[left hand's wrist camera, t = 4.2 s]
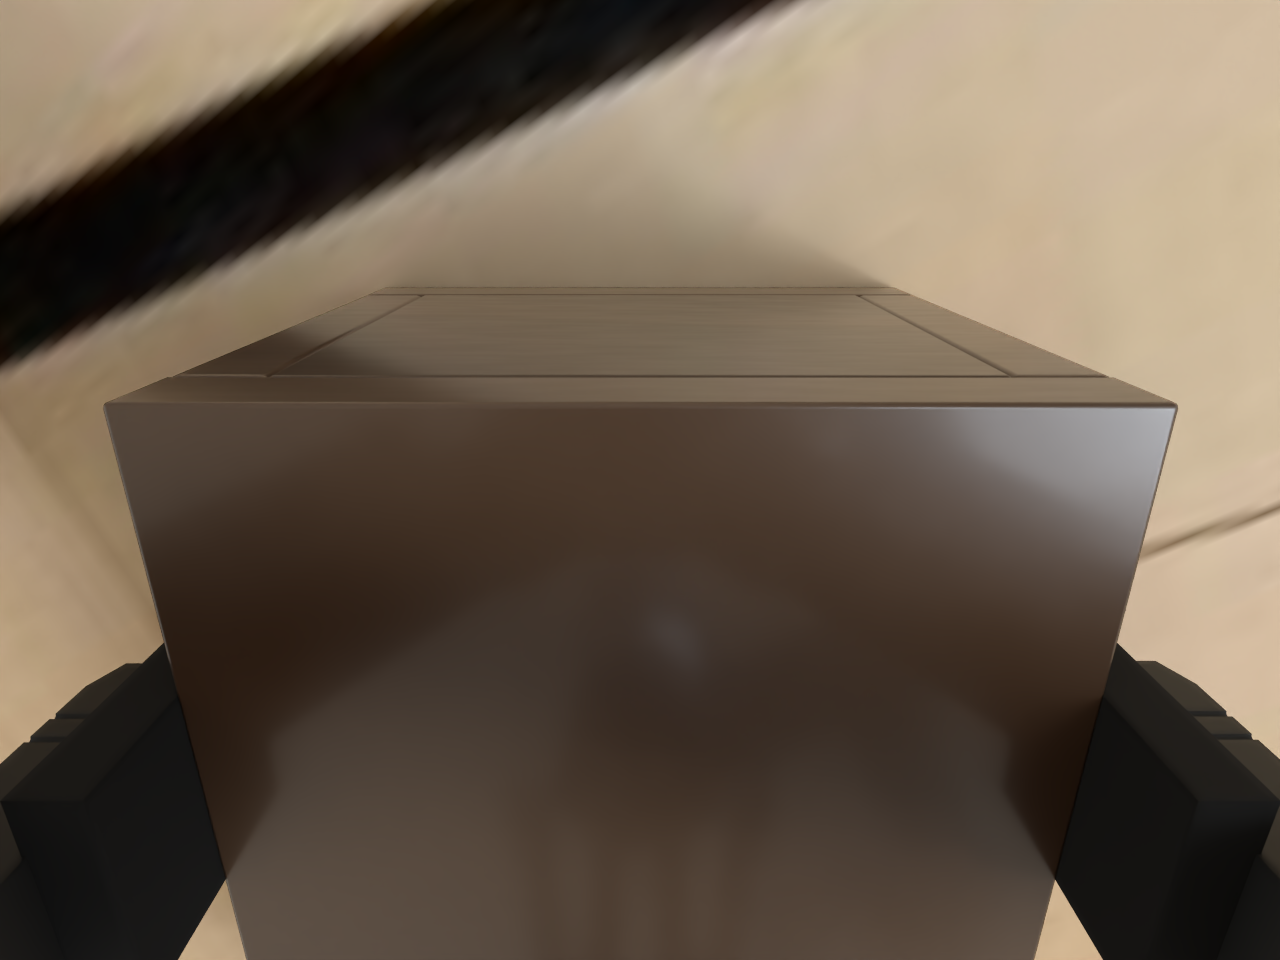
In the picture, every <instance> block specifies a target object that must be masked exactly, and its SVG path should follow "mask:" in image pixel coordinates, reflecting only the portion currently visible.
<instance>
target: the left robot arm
mask: <svg viewBox="0 0 1280 960" xmlns="http://www.w3.org/2000/svg"><path fill="white" fill-rule="evenodd" d="M1251 735H1252V734H1251V733H1250V732H1249V731H1248V730H1247V729H1246V728H1244V727H1243V726H1242V725H1241V724H1240V723H1239V722H1238V721H1237V720H1236V719H1234V718H1233V717H1227V715H1226V710H1224V709H1223V708H1222V707H1221V706H1220V705H1219V704H1218V703H1217V702H1216V701H1214V700H1213V699H1212V698H1211V697H1210V696H1209V695H1208V694H1207V693H1206V692H1204V691H1203V690H1202V689H1201V688H1200V687H1199V686H1198V685H1197V684H1195V683H1193V682H1192V681H1190V680H1188V679H1186V678H1185V677H1183V676H1181V675H1179V674H1177V673H1176V672H1174V671H1172V670H1170V669H1169V668H1167V667H1165V666H1163V665H1162V664H1160V663H1158V662H1156V661H1135V660H1134V659H1133V658H1132V657H1131V656H1130V655H1129V654H1128V653H1127V652H1126V651H1125V650H1124V649H1123V648H1122V647H1121V646H1120V645H1119V644H1118V643H1117V644H1116V648H1115V652H1114V656H1113V659H1112V663H1111V667H1110V671H1109V675H1108V679H1107V682H1106V686H1105V690H1104V694H1103V698H1102V702H1101V705H1100V709H1099V713H1098V717H1097V721H1096V725H1095V728H1094V732H1093V736H1092V740H1091V744H1090V748H1089V751H1088V755H1087V759H1086V763H1085V767H1084V771H1083V774H1082V778H1081V782H1080V786H1079V790H1078V793H1077V797H1076V801H1075V805H1074V809H1073V813H1072V816H1071V820H1070V824H1069V828H1068V832H1067V836H1066V839H1065V843H1064V847H1063V851H1062V855H1061V859H1060V862H1059V866H1058V870H1057V874H1056V878H1055V880H1056V881H1057V883H1058V885H1059V887H1060V888H1061V890H1062V892H1063V893H1064V895H1065V897H1066V898H1067V900H1068V902H1069V903H1070V905H1071V907H1072V908H1073V910H1074V912H1075V913H1076V915H1077V917H1078V918H1079V920H1080V922H1081V923H1082V925H1083V927H1084V929H1085V930H1086V932H1087V934H1088V935H1089V937H1090V939H1091V940H1092V942H1093V944H1094V945H1095V947H1096V949H1097V950H1098V952H1099V954H1100V955H1101V957H1102V959H1103V960H1280V759H1279V758H1278V757H1277V756H1275V755H1274V754H1273V753H1272V752H1271V751H1270V750H1269V749H1268V748H1267V747H1265V746H1264V745H1263V744H1262V743H1261V742H1260V741H1259V740H1253V739H1252V737H1251ZM225 880H226V879H225V875H224V871H223V867H222V863H221V859H220V856H219V852H218V848H217V844H216V840H215V836H214V832H213V829H212V825H211V821H210V817H209V813H208V809H207V806H206V802H205V798H204V794H203V790H202V786H201V782H200V779H199V775H198V771H197V767H196V763H195V759H194V755H193V752H192V748H191V744H190V740H189V736H188V732H187V729H186V725H185V721H184V717H183V713H182V709H181V705H180V702H179V698H178V694H177V690H176V686H175V682H174V679H173V675H172V671H171V667H170V663H169V659H168V655H167V652H166V648H165V644H164V643H163V644H162V645H161V646H160V647H159V648H158V649H157V650H156V651H155V652H154V653H153V654H152V655H151V656H150V657H149V658H148V659H147V660H146V661H144V662H143V663H126V664H124V665H123V666H121V667H119V668H117V669H116V670H114V671H112V672H110V673H109V674H107V675H105V676H103V677H102V678H100V679H98V680H96V681H95V682H93V683H91V684H89V685H88V686H86V687H85V688H84V689H82V690H81V691H80V692H79V693H78V694H77V695H76V696H75V697H74V698H73V699H71V700H70V701H69V702H68V703H67V704H66V705H65V706H64V707H63V708H62V709H60V710H59V711H58V712H57V713H56V717H55V719H49V720H48V721H47V722H46V723H45V724H44V725H43V726H42V727H41V728H39V729H38V730H37V731H36V732H35V733H34V734H33V735H32V736H31V740H30V742H29V743H23V744H22V745H21V746H20V747H19V748H17V749H16V750H15V751H14V752H13V753H12V754H11V755H10V756H9V757H8V758H6V759H5V760H4V761H3V762H2V763H1V764H0V960H178V958H179V957H180V955H181V953H182V952H183V950H184V948H185V947H186V945H187V943H188V942H189V940H190V938H191V937H192V935H193V933H194V932H195V930H196V928H197V927H198V925H199V923H200V922H201V920H202V918H203V916H204V915H205V913H206V911H207V910H208V908H209V906H210V905H211V903H212V901H213V900H214V898H215V896H216V895H217V893H218V891H219V890H220V888H221V886H222V885H223V883H224V881H225Z"/></svg>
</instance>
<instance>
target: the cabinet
mask: <svg viewBox="0 0 1280 960" xmlns="http://www.w3.org/2000/svg"><path fill="white" fill-rule="evenodd" d="M103 409H104V413H105V417H106V421H107V425H108V428H109V432H110V436H111V440H112V444H113V448H114V451H115V455H116V459H117V463H118V467H119V471H120V475H121V478H122V482H123V486H124V490H125V494H126V498H127V502H128V505H129V509H130V513H131V517H132V521H133V525H134V528H135V532H136V536H137V540H138V544H139V548H140V552H141V555H142V559H143V563H144V567H145V571H146V575H147V578H148V582H149V586H150V590H151V594H152V598H153V602H154V605H155V609H156V613H157V617H158V621H159V625H160V628H161V632H162V636H163V640H164V644H165V648H166V652H167V655H168V659H169V663H170V667H171V671H172V675H173V679H174V682H175V686H176V690H177V694H178V698H179V702H180V705H181V709H182V713H183V717H184V721H185V725H186V729H187V732H188V736H189V740H190V744H191V748H192V752H193V755H194V759H195V763H196V767H197V771H198V775H199V779H200V782H201V786H202V790H203V794H204V798H205V802H206V806H207V809H208V813H209V817H210V821H211V825H212V829H213V832H214V836H215V840H216V844H217V848H218V852H219V856H220V859H221V863H222V867H223V871H224V875H225V879H226V882H227V886H228V890H229V894H230V898H231V902H232V906H233V909H234V913H235V917H236V921H237V925H238V929H239V932H240V936H241V940H242V944H243V948H244V952H245V956H246V959H247V960H1034V958H1035V954H1036V950H1037V947H1038V943H1039V939H1040V935H1041V931H1042V928H1043V924H1044V920H1045V916H1046V912H1047V908H1048V905H1049V901H1050V897H1051V893H1052V889H1053V885H1054V882H1055V878H1056V874H1057V870H1058V866H1059V862H1060V859H1061V855H1062V851H1063V847H1064V843H1065V839H1066V836H1067V832H1068V828H1069V824H1070V820H1071V816H1072V813H1073V809H1074V805H1075V801H1076V797H1077V793H1078V790H1079V786H1080V782H1081V778H1082V774H1083V771H1084V767H1085V763H1086V759H1087V755H1088V751H1089V748H1090V744H1091V740H1092V736H1093V732H1094V728H1095V725H1096V721H1097V717H1098V713H1099V709H1100V705H1101V702H1102V698H1103V694H1104V690H1105V686H1106V682H1107V679H1108V675H1109V671H1110V667H1111V663H1112V659H1113V656H1114V652H1115V648H1116V644H1117V640H1118V636H1119V633H1120V629H1121V625H1122V621H1123V617H1124V614H1125V610H1126V606H1127V602H1128V598H1129V594H1130V591H1131V587H1132V583H1133V579H1134V575H1135V571H1136V568H1137V564H1138V560H1139V556H1140V552H1141V548H1142V545H1143V541H1144V537H1145V533H1146V529H1147V525H1148V522H1149V518H1150V514H1151V510H1152V506H1153V502H1154V499H1155V495H1156V491H1157V487H1158V483H1159V479H1160V476H1161V472H1162V468H1163V464H1164V460H1165V457H1166V453H1167V449H1168V445H1169V441H1170V437H1171V434H1172V430H1173V426H1174V422H1175V418H1176V414H1177V411H1178V405H1177V404H1176V403H1174V402H1172V401H1169V400H1167V399H1164V398H1162V397H1159V396H1157V395H1155V394H1152V393H1150V392H1147V391H1145V390H1142V389H1140V388H1138V387H1135V386H1133V385H1130V384H1128V383H1126V382H1123V381H1121V380H1118V379H1116V378H1109V377H1108V376H1106V375H1104V374H1101V373H1099V372H1096V371H1094V370H1091V369H1089V368H1087V367H1084V366H1082V365H1079V364H1077V363H1075V362H1072V361H1070V360H1067V359H1065V358H1063V357H1060V356H1058V355H1055V354H1053V353H1050V352H1048V351H1046V350H1043V349H1041V348H1038V347H1036V346H1034V345H1031V344H1029V343H1026V342H1024V341H1022V340H1019V339H1017V338H1014V337H1012V336H1009V335H1007V334H1005V333H1002V332H1000V331H997V330H995V329H993V328H990V327H988V326H985V325H983V324H981V323H978V322H976V321H973V320H971V319H969V318H966V317H964V316H961V315H959V314H956V313H954V312H952V311H949V310H947V309H944V308H942V307H940V306H937V305H935V304H932V303H930V302H928V301H925V300H923V299H920V298H918V297H915V296H913V295H911V294H908V293H906V292H903V291H901V290H899V289H896V288H384V289H381V290H379V291H377V292H374V293H372V294H370V295H367V296H365V297H363V298H360V299H358V300H355V301H353V302H351V303H348V304H346V305H343V306H341V307H339V308H336V309H334V310H331V311H329V312H327V313H324V314H322V315H319V316H317V317H315V318H312V319H310V320H307V321H305V322H303V323H300V324H298V325H295V326H293V327H291V328H288V329H286V330H283V331H281V332H279V333H276V334H274V335H271V336H269V337H267V338H264V339H262V340H259V341H257V342H255V343H252V344H250V345H247V346H245V347H243V348H240V349H238V350H235V351H233V352H231V353H228V354H226V355H223V356H221V357H219V358H216V359H214V360H211V361H209V362H207V363H204V364H202V365H199V366H197V367H195V368H192V369H190V370H187V371H185V372H183V373H180V374H178V375H176V376H173V377H167V378H165V379H162V380H160V381H158V382H155V383H153V384H150V385H148V386H146V387H143V388H141V389H138V390H136V391H133V392H131V393H129V394H126V395H124V396H121V397H119V398H117V399H114V400H112V401H109V402H107V403H105V404H104V408H103Z"/></svg>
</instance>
